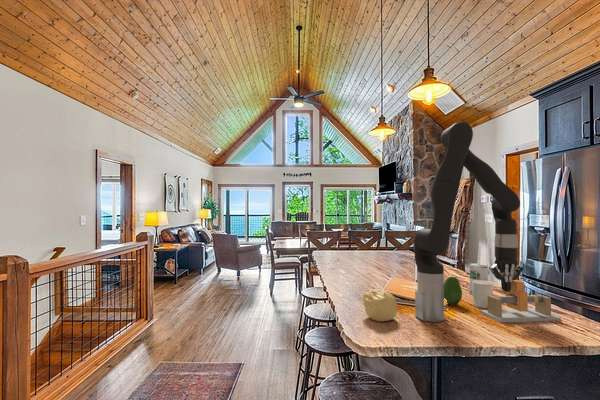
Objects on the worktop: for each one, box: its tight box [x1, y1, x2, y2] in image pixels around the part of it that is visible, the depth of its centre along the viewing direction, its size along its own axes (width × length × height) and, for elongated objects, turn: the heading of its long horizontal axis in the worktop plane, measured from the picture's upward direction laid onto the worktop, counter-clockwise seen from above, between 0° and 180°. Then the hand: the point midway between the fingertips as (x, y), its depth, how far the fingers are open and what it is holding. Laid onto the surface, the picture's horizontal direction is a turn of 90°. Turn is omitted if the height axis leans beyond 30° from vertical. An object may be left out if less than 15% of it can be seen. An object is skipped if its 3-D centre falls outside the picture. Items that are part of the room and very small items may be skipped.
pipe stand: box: [479, 293, 562, 323], centre depth 124 cm, size 24×11×8 cm, turn 96°
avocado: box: [444, 276, 463, 306], centre depth 140 cm, size 8×8×12 cm
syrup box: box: [468, 262, 489, 295], centre depth 156 cm, size 6×6×14 cm
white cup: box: [472, 280, 494, 309], centre depth 138 cm, size 8×8×10 cm
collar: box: [505, 279, 529, 312], centre depth 124 cm, size 3×7×10 cm, turn 6°
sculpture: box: [362, 288, 398, 323], centre depth 121 cm, size 12×12×11 cm
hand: (506, 291), depth 124 cm, fingers closed
